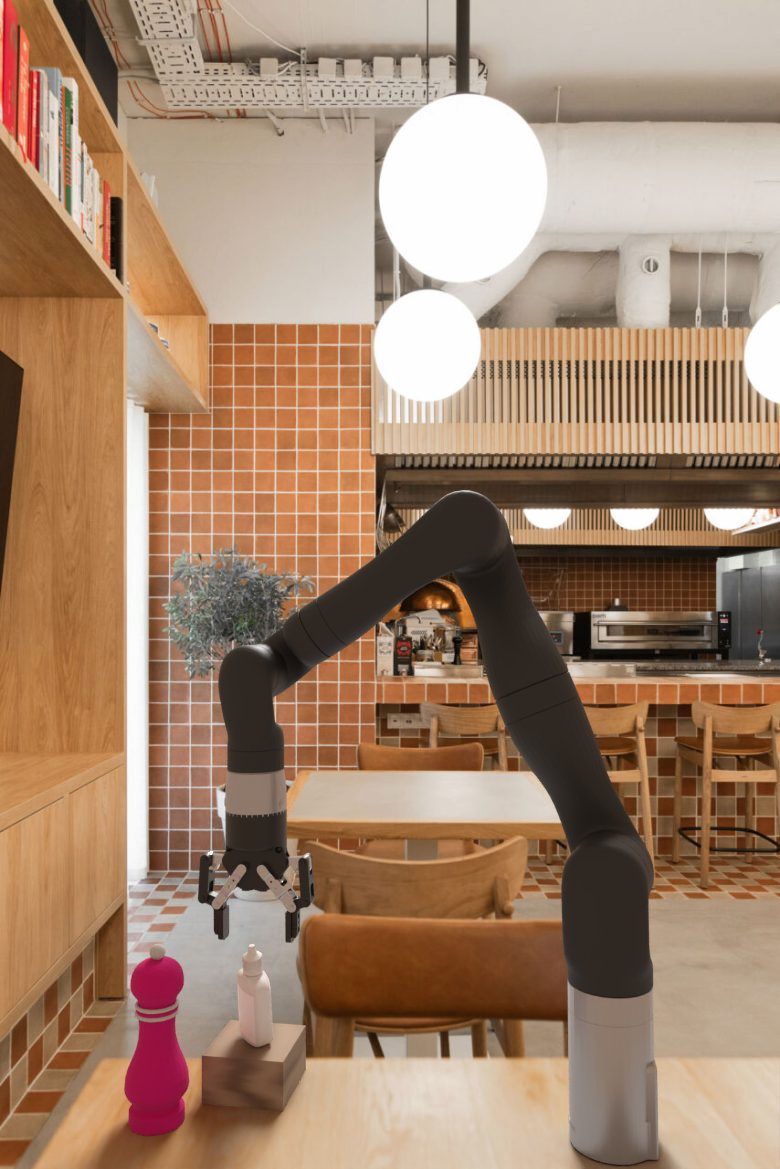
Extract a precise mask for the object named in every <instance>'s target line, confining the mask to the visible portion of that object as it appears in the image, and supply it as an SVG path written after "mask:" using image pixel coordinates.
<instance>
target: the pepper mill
mask: <svg viewBox="0 0 780 1169" xmlns="http://www.w3.org/2000/svg"><path fill="white" fill-rule="evenodd" d="M184 974H185V973H184V969H183V967H182V965H181V964H180V963H179V962H178V960H176V959H174V958H173V957H170V956H167V955H166V948H165V946H164V945H163V944H161V943H156V944H153V945H152V946H151V947H150V948H149V957H147V958H145V959H143V960H141V961H140V962H139V963H138V964H137V965H136V966H135V968H134V969H133V972H132V974H131V977H130V983H129V986H130V987H129V988H130V991H131V994H132V996H133V997H134V998H135V1000H137V1001H136V1002H135V1004H134V1009H135V1011H134V1017H135V1018H136V1020H138V1039H137V1043H136V1047H135V1050H134V1053H133V1055H132V1058H131V1060H130V1062H129V1065H128V1067H127V1070H126V1073H125V1078H124V1084H123V1085H124V1089H123V1090H124V1091H123V1092H124V1095H125V1097H126V1099H127V1101H128V1102H129V1103H130V1106H129V1108H128V1123H127V1125H128V1128H129V1129H130V1131H132V1133H135V1134H137V1135H140V1136H144V1137H145V1136H147V1137H149V1136H150V1137H151V1136H152V1137H153V1136H162V1135H164V1134H169V1133H171V1132H173V1131H175V1130H176V1129H178V1128H179V1127H181V1125H182V1124H183V1123H184V1122H185V1118H186V1102H185V1100H184V1098H183V1097H184V1095H185V1094H186V1092H187V1091H188V1089H189V1086H190V1085H189V1084H190V1073H189V1072H190V1071H189V1067H188V1064H187V1061H186V1058H185V1056H184V1053H183V1051H182V1049H181V1046H180V1043H179V1042H178V1037H177V1033H176V1032H177V1031H176V1017H177V1016H178V1015H179V1013H180V1012H181V1011H180V1010H181V1009H180V1006H179V1005H180V1003H181V1002H180V998H179V997H178V996H179V995H180V993H181V992H182V990H183V988H184V984H185V975H184Z"/></svg>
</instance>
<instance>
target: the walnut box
mask: <svg viewBox="0 0 780 1169" xmlns="http://www.w3.org/2000/svg"><path fill="white" fill-rule="evenodd" d="M272 1026H273V1040H272V1042H270V1043H268V1044H266V1045H263V1046H261V1047H254V1046H252V1045H251V1044H249V1043H248V1042H247V1041H246V1040H245V1039H244V1038H243V1037H242V1035H241V1032H240V1027H239V1019H238V1020H235V1019H230V1020H229V1022H227V1024H226V1025H225V1026H224V1027H223V1029H222V1030H221V1031H220V1032H219V1034H218V1035H217V1036H216V1038H215V1039H214V1040H213V1041H212V1042H211V1044H210V1045H209V1046H208V1047H207V1049H206V1050H205V1051H204V1052H203V1053H202V1055H201V1104H204V1105H205V1104H206V1105H213V1106H224V1107H234V1108H244V1109H245V1108H246V1109H256V1110H266V1111H277V1112H284V1111H285V1109H286V1107H287V1105H288V1103H289V1102H290V1100H291V1098H292V1095H293V1093H294V1092H295V1090H296V1088H297V1086H298V1085H299V1083H300V1081H301V1079H302V1078H303V1076H304V1074H305V1071H306V1070H307V1060H306V1059H307V1056H306V1055H307V1054H306V1053H307V1052H306V1051H307V1050H306V1048H307V1046H306V1044H307V1041H306V1040H307V1037H306V1036H307V1035H306V1034H307V1029H306V1028H307V1027H306V1025H304V1024H294V1023H293V1024H290V1023H277V1022H272Z"/></svg>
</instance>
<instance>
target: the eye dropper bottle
mask: <svg viewBox="0 0 780 1169" xmlns="http://www.w3.org/2000/svg"><path fill="white" fill-rule="evenodd" d="M263 960H264V958H263V953H262V952H261V951H259V950H257V949H256V946H255V944H254V943H249V945H248V948H247V951H246V952H245V953H243V954H242V956H241V961H242V967H241V968H240V969H239V970H238V971H237V974H236V986H237V987H236V988H237V1006H238V1007H237V1008H238V1009H237V1010H238V1020H239V1027H240V1032H241V1035H242V1037H243V1038H244V1039H245V1040H246V1041H247V1042H248V1043H249V1044H251V1045H252V1046H254V1047H261V1046H263V1045H266V1044H268V1043H270V1042H272V1040H273V1026H272V1023H273V1008H272V1007H273V1006H272V992H271V982H270V979H269V977H268V975H267V973H266V971H264V961H263Z"/></svg>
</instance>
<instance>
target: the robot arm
mask: <svg viewBox="0 0 780 1169" xmlns="http://www.w3.org/2000/svg"><path fill="white" fill-rule="evenodd" d="M449 574H452V577H453V578H454V580H455V582H456V583H457V585H458V587H459V589H460V591H461V593H462V595H463V597H464V599H465V601H466V604H467V605H468V607H469V610H470V612H471V614H472V618H473V620H474V624H475V628H476V631H477V635H478V640H479V646H480V651H481V656H482V661H483V665H484V670H485V673H486V677H487V680H488V684H489V685H488V686H489V688H490V691H491V694H492V696H493V700H494V701H495V702H494V703H496V704H495V705H496V707H497V709H498V712H499V714H500V717H501V719H502V722H503V724H504V726H505V729H506V731H507V733H508V735H509V737H510V739H511V741H512V742H513V744H514V746H515V748H516V750H517V751H518V753H519V754H520V756H521V757H522V759H523V760H524V761H525V763H526V765H527V766H528V767H529V769H530V770H531V771H532V773H533V774H534V775H535V777H536V778H537V780H538V782H540V784H541V785H542V786H543V788H544V789H545V791H546V792H547V795H548V796H549V797H550V801H551V802H552V804H553V805H554V808H555V810H556V813H557V816H558V818H559V821H560V824H561V827H562V830H563V833H564V835H565V839H566V843H567V845H568V849H569V852H570V855H569V856H568V858H567V859H566V861H565V864H564V865H563V866H564V867H563V868H562V875H561V884H560V885H561V886H560V887H561V890H560V892H561V893H560V896H561V897H560V898H561V902H560V903H561V904H560V905H561V927H562V928H561V929H562V950H563V951H562V952H563V955H564V960H565V962H566V970H567V971H566V972H567V973H566V974H567V977H566V978H567V1032H568V1033H567V1040H568V1044H567V1046H568V1048H567V1049H568V1050H567V1051H568V1055H567V1056H568V1126H569V1127H568V1128H569V1130H568V1131H569V1133H568V1134H569V1135H568V1136H569V1141H570V1143H571V1145H572V1146H573V1148H574V1149H576V1151H578V1152H579V1153H580V1154H582V1155H583V1156H585V1157H587V1158H589V1159H592V1160H594V1161H596V1162H599V1163H606V1164H608V1165H623V1166H624V1165H634V1164H639V1163H642V1162H645V1161H647V1160H648V1161H649V1160H651V1161H652V1160H653V1161H658V1160H659V1159H660V1157H659V1154H660V1153H659V1149H660V1148H659V1101H658V1100H659V1098H658V1096H659V1090H658V1086H659V1085H658V1066H657V1063H656V1059H655V1020H654V1019H655V1018H654V1016H655V1014H654V1013H655V1012H654V1010H655V1008H654V1004H655V1003H654V964H653V961H652V958H651V951H650V950H651V949H650V913H649V911H650V909H649V907H650V905H649V904H650V903H649V902H650V901H649V898H650V894H651V892H652V888H653V885H654V881H655V870H654V869H655V868H654V863H653V861H652V856H651V854H650V852H649V849H648V848H647V847H646V844H645V842H644V841H643V839H642V837H641V835H640V834H639V832H638V830H637V829H636V826H635V825H634V823H633V821H632V820H631V817H630V815H629V814H628V812H627V810H626V809H625V807H624V805H623V803H622V800H621V799H620V797H619V795H618V794H617V791H616V789H615V787H614V785H613V783H612V781H611V779H610V776H609V774H608V771H607V768H606V765H605V762H604V758H603V756H602V752H601V750H600V748H599V744H598V742H597V739H596V736H595V733H594V730H593V728H592V725H591V722H590V721H589V717H588V715H587V712H586V709H585V706H584V704H583V702H582V699H581V696H580V694H579V691H578V690H577V686H576V685H575V682H574V680H573V678H572V676H571V673H570V672H569V668H568V666H567V664H566V662H565V659H564V658H563V656H562V654H561V652H560V650H559V647H558V646H557V644H556V641H555V639H554V638H553V636H552V634H551V632H550V630H549V628H548V627H547V625H546V623H545V622H544V619H543V618H542V616H541V614H540V612H539V611H538V609H537V608H536V606H535V603H534V602H533V600H532V598H531V595H530V593H529V590H528V588H527V586H526V583H525V580H524V577H523V574H522V571H521V567H520V564H519V561H518V558H517V554H516V551H515V547H514V543H513V540H512V537H511V533H510V530H509V526H508V523H507V520H506V518H505V516H504V514H503V513H502V511H501V510H500V509H499V508H498V507H497V506H496V504H495V503H494V502H493V501H492V500H491V499H489V498H488V497H487V496H485V495H484V494H481V493H479V492H476V491H474V490H473V491H472V490H457V491H453V492H450V493H448V494H445V495H444V496H443V497H441V498H440V499H439V500H438V501H437V502H435V503H434V504H433V505H432V506H431V507H429V509H428V510H427V511H426V512H424V513H423V514H422V515H421V516H420V517H419V518H418V519H417V520H416V521H415V522H414V523H413V524H412V525H411V526H410V527H409V528H407V529H406V531H404V533H402V534H401V535H400V536H399V537H398V538H396V539H395V541H393V542H391V544H389V545H388V546H387V547H386V548H385V549H384V550H383V551H381V552H380V553H379V554H377V555H376V556H375V557H373V558H372V559H371V560H370V561H369V562H367V563H366V564H364V565H363V566H362V567H360V568H359V569H356V571H355V572H353V573H352V574H350V575H349V576H348V577H346V578H344V579H343V580H342V581H340V582H338V583H337V584H336V585H334V586H332V587H331V588H329V589H328V590H326V591H325V592H324V593H322V594H321V595H319V596H317V597H315V599H313V600H311V601H309V603H307V604H306V605H303V607H301V608H299V609H298V610H296V611H295V612H294V613H292V614H291V615H290V616H288V618H287V619H285V621H284V624H283V627H282V628H280V629H279V630H277V631H276V632H275V633H273V634H272V635H270V636H269V637H267V638H266V639H264V640H263V641H261V642H259V643H256V644H244V645H240V646H236V647H235V648H233V649H231V650H230V651H229V652H227V654H226V655H225V657H224V658H223V660H222V661H221V663H220V668H219V671H218V672H219V673H218V679H217V680H218V681H217V682H218V684H217V686H218V688H217V689H218V696H219V702H220V707H221V713H222V717H223V718H222V719H223V722H224V726H225V729H226V730H225V731H226V734H227V742H226V747H227V748H226V751H227V752H226V755H227V756H226V757H227V760H226V762H227V763H226V764H227V765H226V766H227V767H226V769H227V772H226V773H227V774H226V781H225V789H224V790H225V792H224V793H225V794H224V795H225V796H224V800H223V802H224V807H225V810H224V814H225V815H224V816H225V819H224V820H225V824H224V825H225V827H224V828H225V833H224V834H225V837H224V838H225V840H224V842H225V851H224V853H219V852H216V851H215V850H212V849H210V850H208V851H206V852H205V853H203V855H201V856H200V857H199V871H198V872H199V873H198V887H197V902H199V903H200V904H207V905H208V906H210V907H211V908H212V909H213V933H214V935H216V936H217V939H218V940H219V941H225V940H226V939H227V938H228V937H229V935H230V905H229V904H228V901H229V899H230V898H231V897H232V895H233V894H234V892H235V891H236V890H237V889H240V890H241V892H249V891H250V892H251V891H257V892H261V893H264V892H265V893H267V892H268V891H269V890H270V891H271V893H273V895H274V896H275V898H276V899H278V900H279V901H280V902H281V903H282V905H283V906H284V908H285V909H286V911H285V913H284V916H285V917H284V918H285V919H284V920H285V924H284V926H285V927H284V928H285V930H284V931H285V932H284V934H285V935H284V937H285V943H289V944H291V943H293V942H294V941H295V940H296V938H297V937H298V936H299V935H300V932H301V909H305V908H309V907H310V906H311V905H312V904H313V902H314V901H315V899H316V886H315V874H314V873H315V872H314V858H313V855H312V854H311V853H310V852H305V853H304V854H303V855H290V853H289V852H288V837H287V836H288V819H287V818H288V813H287V812H288V809H287V805H288V802H287V800H288V796H287V795H288V794H287V792H288V790H287V780H286V775H285V774H286V773H285V736H284V735H285V734H284V730H283V727H282V726H281V725H280V724H279V722H276V720H275V710H274V698H275V697H277V696H278V695H280V694H282V693H283V692H285V691H287V690H288V689H289V688H291V687H292V686H294V685H295V684H297V682H298V681H299V680H302V678H303V677H304V676H306V675H307V674H308V673H309V672H310V671H312V670H313V669H314V668H315V667H316V666H317V665H319V664H321V663H323V662H325V661H327V660H329V659H330V658H331V657H333V656H335V655H336V654H337V653H339V652H341V651H342V650H344V649H345V648H347V647H348V646H350V645H351V644H353V643H354V642H356V641H357V640H359V639H360V638H362V637H363V636H364V635H366V634H367V633H368V632H369V631H371V629H373V628H374V627H375V626H376V625H377V624H379V623H380V622H381V621H382V620H383V619H384V618H385V617H386V616H387V615H388V614H389V613H390V612H391V611H392V610H393V609H394V608H396V607H397V606H398V605H399V604H401V603H402V602H403V601H404V600H406V599H407V598H408V597H410V596H411V595H412V594H414V593H415V592H417V591H418V590H420V589H421V588H423V587H425V586H426V585H428V584H430V583H432V582H434V581H436V580H438V579H440V578H443V577H446V576H447V575H449ZM221 864H222V866H223V868H224V869H225V871H226V872H227V873H228V875H229V877H228V879H227V880H226V882H225V883H224V885H223V886H222V887H221V889H220V890H219V892H217V891H215V880H216V871H217V870H218V869H219V868H220V866H221ZM289 867H292V868H293V872H294V873H295V874H296V875H298V883H299V895H298V893H297V892H296V890H294V888H293V884H292V883H291V881H290V879H288V877H287V876H286V874H285V872H286V871H287V869H288V868H289Z"/></svg>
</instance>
